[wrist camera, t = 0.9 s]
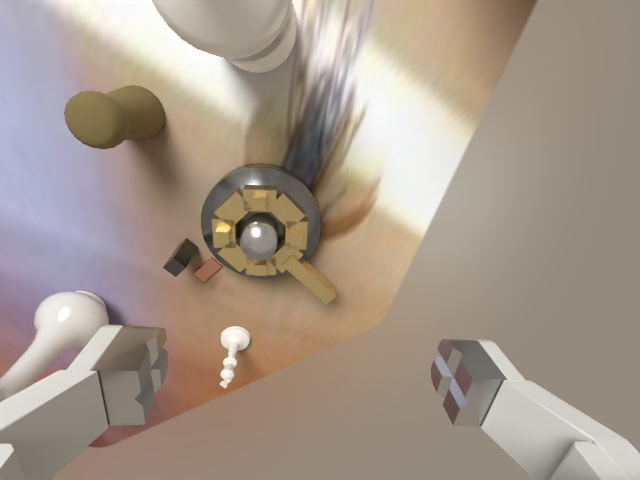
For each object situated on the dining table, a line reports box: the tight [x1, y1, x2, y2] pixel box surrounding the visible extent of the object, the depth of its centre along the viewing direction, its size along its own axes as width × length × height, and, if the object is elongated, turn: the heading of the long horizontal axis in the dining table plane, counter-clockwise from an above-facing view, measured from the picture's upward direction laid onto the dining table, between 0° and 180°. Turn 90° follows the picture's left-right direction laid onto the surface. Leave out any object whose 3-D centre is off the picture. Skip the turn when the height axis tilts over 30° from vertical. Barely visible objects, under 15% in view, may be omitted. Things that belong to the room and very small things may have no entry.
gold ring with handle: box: [212, 185, 336, 304], centre depth 44 cm, size 20×12×3 cm, turn 41°
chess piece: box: [220, 326, 250, 388], centre depth 51 cm, size 5×5×10 cm
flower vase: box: [0, 290, 109, 402], centre depth 40 cm, size 13×18×25 cm
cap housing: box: [163, 164, 321, 282], centre depth 44 cm, size 22×16×8 cm
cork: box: [64, 85, 165, 149], centre depth 35 cm, size 6×6×11 cm
